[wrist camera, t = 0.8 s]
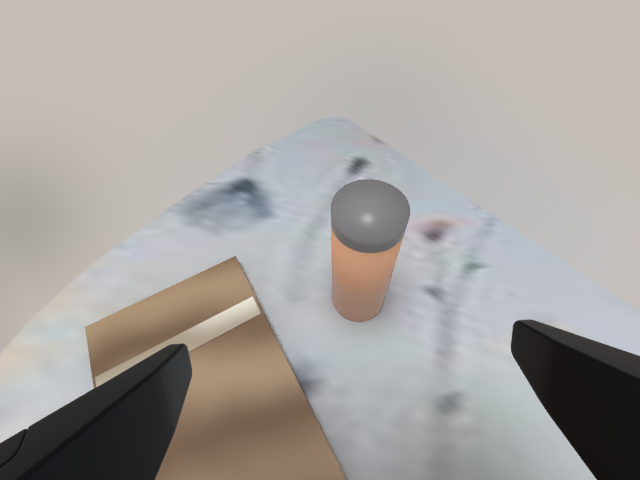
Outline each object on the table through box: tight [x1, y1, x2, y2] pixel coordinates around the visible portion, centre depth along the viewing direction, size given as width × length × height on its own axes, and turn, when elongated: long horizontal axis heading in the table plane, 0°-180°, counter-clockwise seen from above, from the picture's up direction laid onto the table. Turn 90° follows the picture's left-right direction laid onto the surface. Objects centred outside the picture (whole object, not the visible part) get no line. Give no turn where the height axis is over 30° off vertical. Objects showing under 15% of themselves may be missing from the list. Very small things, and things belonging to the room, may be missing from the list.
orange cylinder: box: [331, 179, 410, 322], centre depth 21 cm, size 4×4×11 cm
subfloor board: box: [85, 256, 346, 480], centre depth 20 cm, size 24×12×1 cm, turn 30°
